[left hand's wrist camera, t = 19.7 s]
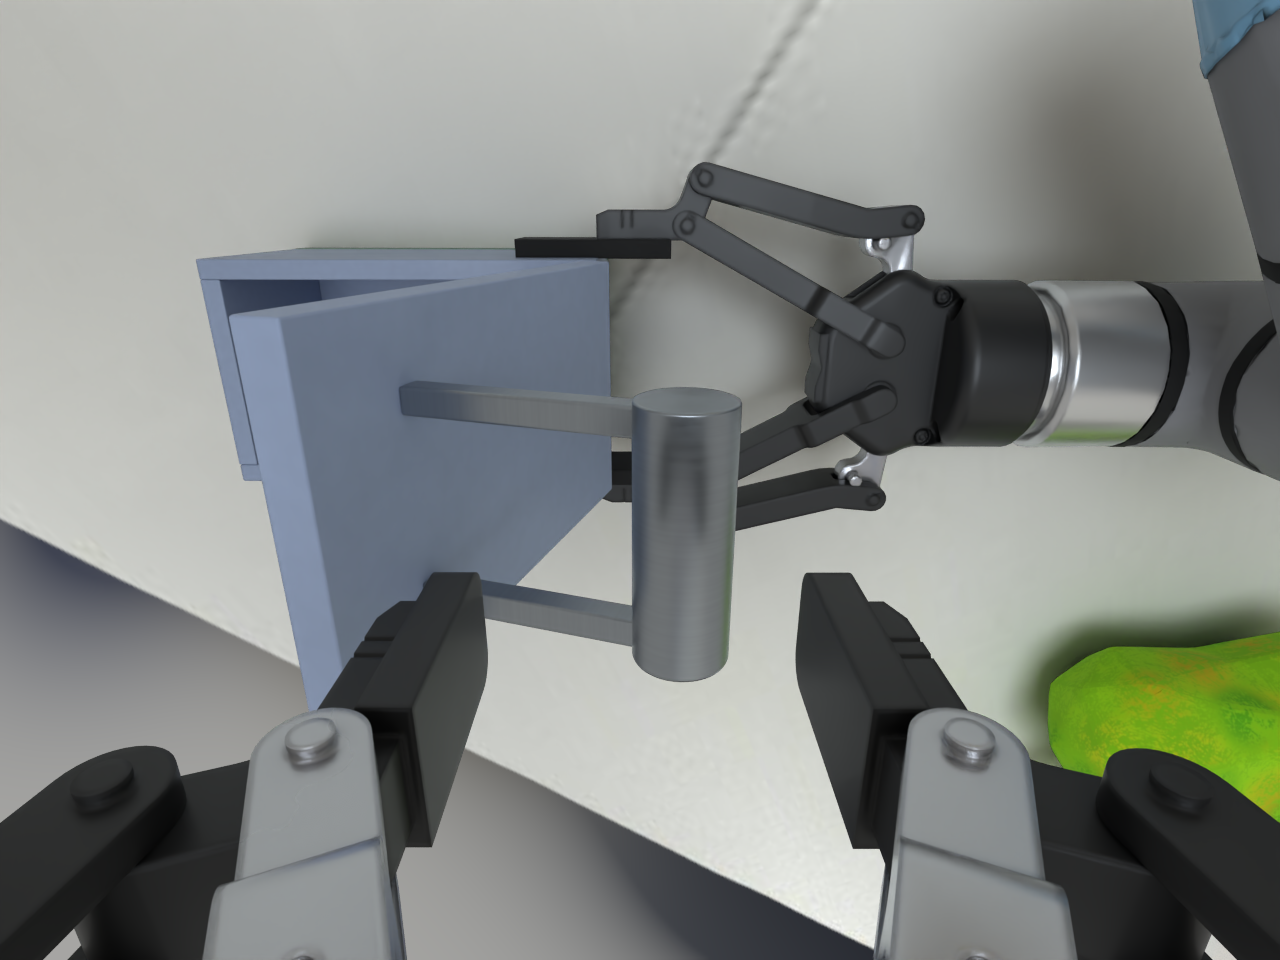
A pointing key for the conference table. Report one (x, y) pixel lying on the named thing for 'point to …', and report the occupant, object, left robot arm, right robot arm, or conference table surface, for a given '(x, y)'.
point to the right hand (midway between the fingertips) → (527, 363)
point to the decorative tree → (1177, 710)
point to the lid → (482, 464)
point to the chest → (325, 295)
